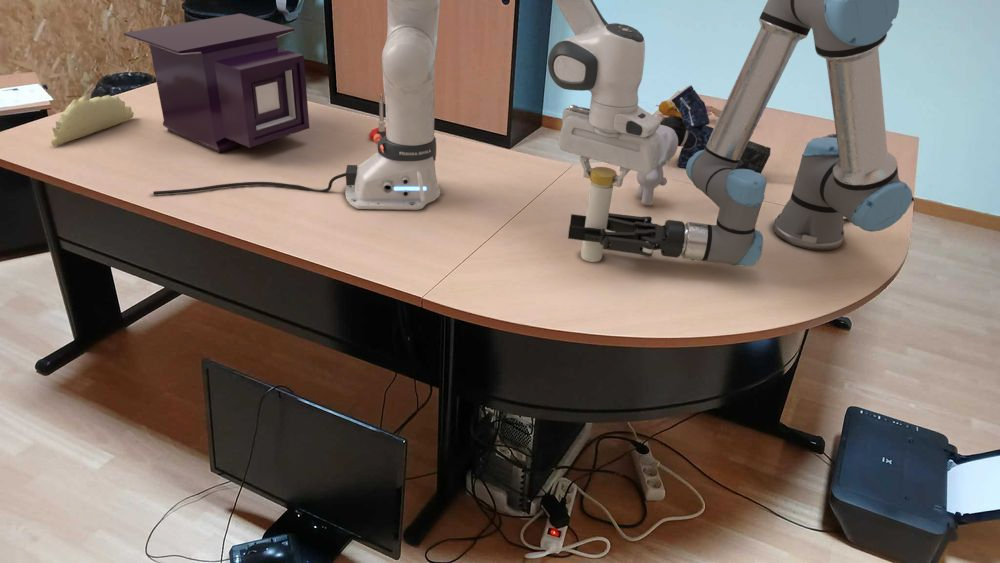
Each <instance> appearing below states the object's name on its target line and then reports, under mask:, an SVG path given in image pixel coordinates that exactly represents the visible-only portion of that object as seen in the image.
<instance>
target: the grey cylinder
mask: <svg viewBox="0 0 1000 563" xmlns="http://www.w3.org/2000/svg"><path fill="white" fill-rule="evenodd" d="M613 190H614V186H613V185H610V186H601V185H597V184H594V183H592V182H591V181H590V187H589V195H588V201H587V208H586V215H585V216H586V222H585V227H587V228H596V229H601V233H602V229H605V232H607V230H606V228H607V222H608V216H609V213H610V208H611V203H612V196H613ZM603 254H604V249H603V245H601V244H600V243H599V242H591V241H583V240H582V243H581V251H580V258H581V259H582V260H584V261H586V262H590V263H598V262H600V261H602V258H603Z"/></svg>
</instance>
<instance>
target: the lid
mask: <svg viewBox="0 0 1000 563" xmlns="http://www.w3.org/2000/svg"><path fill="white" fill-rule="evenodd" d="M592 168H593V169H592V170H591V173H590V179H589V180H590V183H591V182H592V183H594V184H597V185H601V186H610V185H612V183H613V178H614V177H616V175H618V173H617V171H616V170H615V169H613V168H611V167H608V166H607V167H606V166H594V167H592Z"/></svg>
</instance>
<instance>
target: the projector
mask: <svg viewBox="0 0 1000 563" xmlns="http://www.w3.org/2000/svg"><path fill="white" fill-rule="evenodd" d="M294 31H295V28H294V27H292V26H287V25H283V24H279V23H276V22H272V21H269V20H264V19H262V18H259V17H256V16H255V17H254V16H252V15H247V14H244V13H235V14H230V15H224V16H217V17H212V18H205V19H200V20H194V21H188V22H181V23H175V24H169V25H163V26H157V27H151V28H146V29H145V28H144V29H139V30H134V31H128V32H123V36H125V37H127V38H130V39H133V40H136V41H138V42H142V43H145V44H148V45H149V50H150V54H151V60H152V66H153V71H154V75H155V76H154V77H155V82H156V87H157V92H158V97H159V102H160V107H161V113H162V118H163V122H162V126H163V127H165V128H166V129H167V131H168V132H170V133H172V134H175V135H177V136H179V137H182V138H184V139H187V140H189V141H191V142H193V143H196V144H197V145H200V146H203V147H205V148H207V149H209V150H212V151H215V152H217V153H219V154H220V153H224V152H227V151H229V150H233V149H235V148H237V144H240V145H242V146H245V147H247V148H249V149H250V148H253V147H256V146H259V145H262V144H266V143H269V142H271V141H275V140H278V139H281V138H285V137H287V136H289V135H293V134H296V133H300V132H302V131H305V130H308V129H310V118H309V105H308V94H307V93H308V92H307V80H306V79H307V78H306V68H305V56H304V54H303V53H302V54H301V53H297V52H296V51H295V52H294V51H291V50H288V49H285V48H282V47H279V44H278V40H277V38H280V37H282V36H286V35H287V34H291V33H292V32H294Z"/></svg>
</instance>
